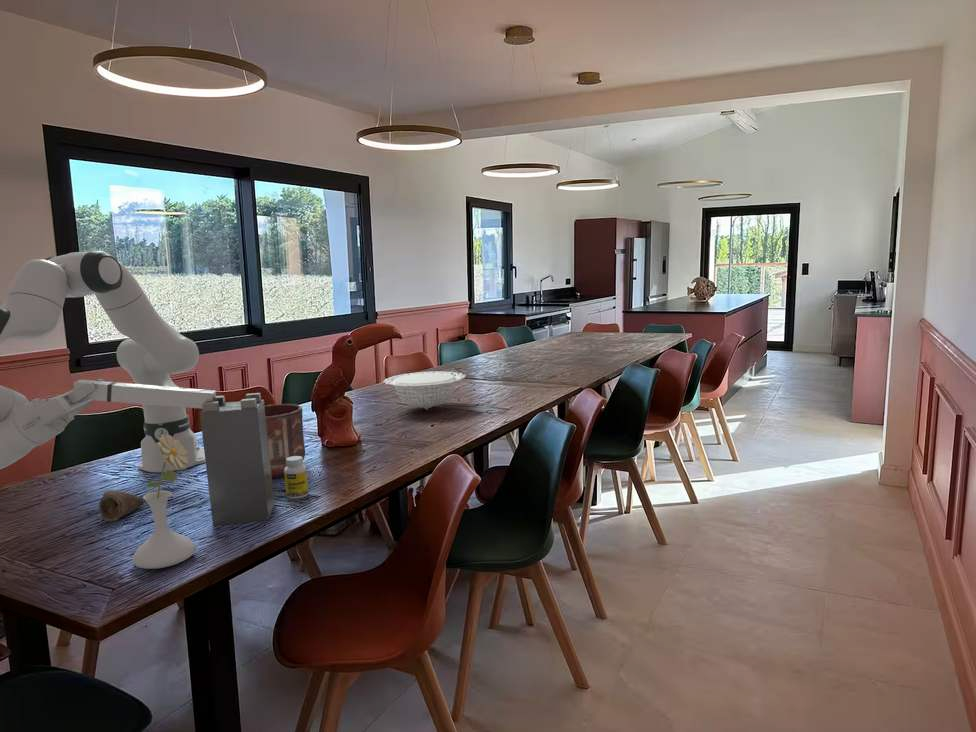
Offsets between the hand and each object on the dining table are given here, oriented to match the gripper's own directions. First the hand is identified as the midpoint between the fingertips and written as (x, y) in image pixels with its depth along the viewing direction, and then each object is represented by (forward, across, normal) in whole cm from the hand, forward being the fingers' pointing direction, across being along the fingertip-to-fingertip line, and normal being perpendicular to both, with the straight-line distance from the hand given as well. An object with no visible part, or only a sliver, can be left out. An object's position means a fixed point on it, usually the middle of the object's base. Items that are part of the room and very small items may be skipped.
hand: (98, 383), depth 144 cm
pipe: (-22, +13, +27) cm, 37 cm away
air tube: (+5, 0, +9) cm, 10 cm away
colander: (+52, +97, +69) cm, 130 cm away
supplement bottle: (+16, +10, +48) cm, 52 cm away
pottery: (+9, +32, +44) cm, 55 cm away
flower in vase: (-3, -21, +37) cm, 43 cm away
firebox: (+7, 0, +42) cm, 43 cm away
